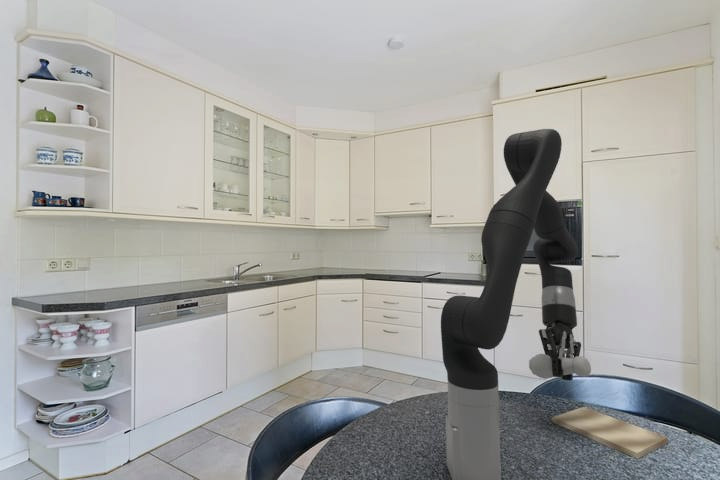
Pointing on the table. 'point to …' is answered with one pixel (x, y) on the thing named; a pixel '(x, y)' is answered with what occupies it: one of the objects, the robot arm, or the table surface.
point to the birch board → (611, 432)
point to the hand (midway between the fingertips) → (562, 378)
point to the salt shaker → (578, 365)
